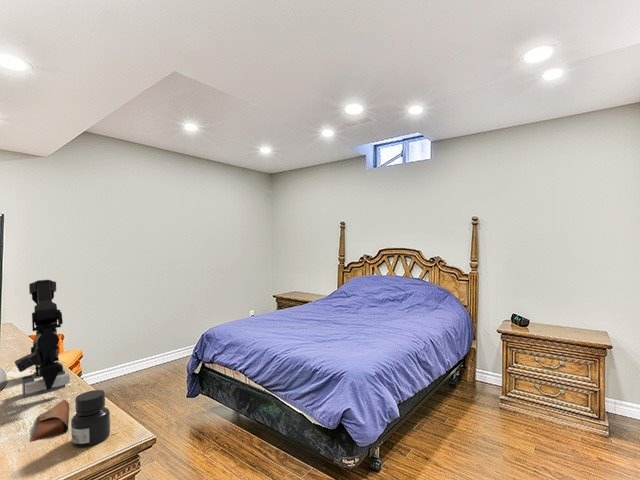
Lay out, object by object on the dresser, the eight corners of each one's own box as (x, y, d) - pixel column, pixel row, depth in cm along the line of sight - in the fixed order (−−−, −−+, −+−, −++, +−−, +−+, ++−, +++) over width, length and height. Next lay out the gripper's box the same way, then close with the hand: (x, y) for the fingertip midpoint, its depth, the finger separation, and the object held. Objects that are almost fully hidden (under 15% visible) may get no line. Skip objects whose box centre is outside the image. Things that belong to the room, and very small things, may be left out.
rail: (25, 391, 119) (25, 383, 119) (68, 380, 127) (68, 373, 127) (26, 394, 117) (25, 385, 117) (69, 383, 125) (69, 375, 125)
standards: (22, 394, 127) (22, 376, 127) (63, 383, 135) (62, 367, 135) (23, 397, 123) (23, 380, 123) (65, 387, 132) (64, 370, 132)
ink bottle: (67, 439, 96) (66, 395, 96) (103, 426, 103) (102, 385, 103) (77, 453, 90) (76, 406, 90) (115, 438, 96) (114, 394, 96)
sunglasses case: (35, 416, 110) (48, 395, 112) (60, 421, 113) (72, 400, 115) (30, 442, 95) (45, 417, 97) (58, 447, 98) (72, 423, 100)
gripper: (14, 343, 123) (15, 388, 123) (18, 355, 110) (20, 405, 110) (53, 337, 131) (54, 378, 131) (62, 347, 118) (63, 393, 118)
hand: (48, 388), depth 122 cm, fingers closed on rail, 3 cm apart
